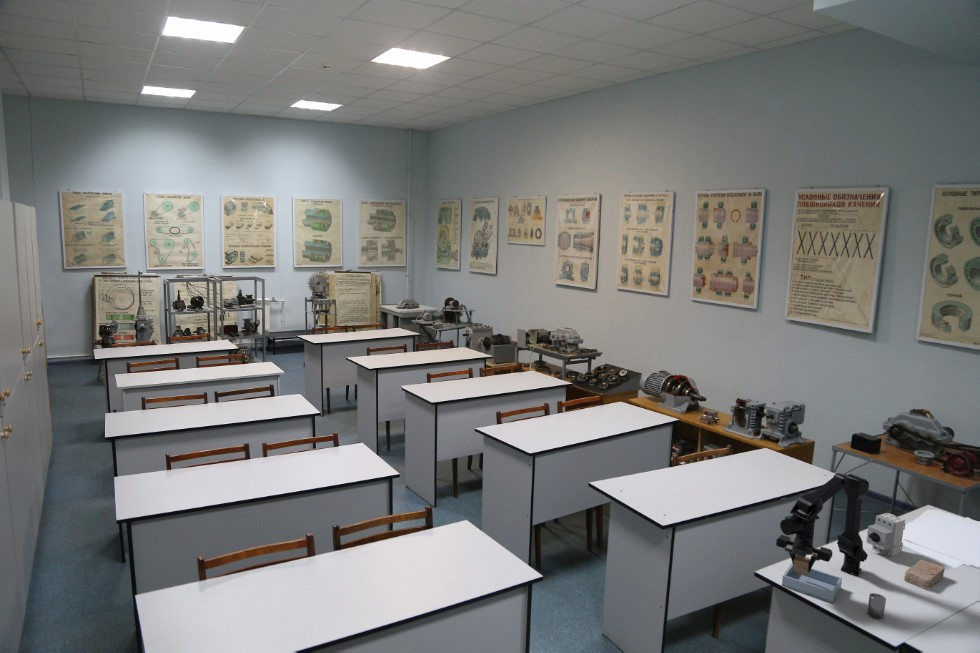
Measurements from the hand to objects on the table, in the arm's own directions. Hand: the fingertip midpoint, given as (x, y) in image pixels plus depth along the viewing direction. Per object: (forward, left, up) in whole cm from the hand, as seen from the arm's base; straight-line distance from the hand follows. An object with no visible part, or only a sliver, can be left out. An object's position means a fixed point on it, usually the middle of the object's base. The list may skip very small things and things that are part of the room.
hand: (801, 568), depth 244 cm
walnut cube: (0, 0, -1) cm, 1 cm away
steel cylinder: (+5, +26, -6) cm, 27 cm away
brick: (-36, +36, -6) cm, 51 cm away
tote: (0, +4, -6) cm, 7 cm away
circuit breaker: (-50, +20, -6) cm, 54 cm away
